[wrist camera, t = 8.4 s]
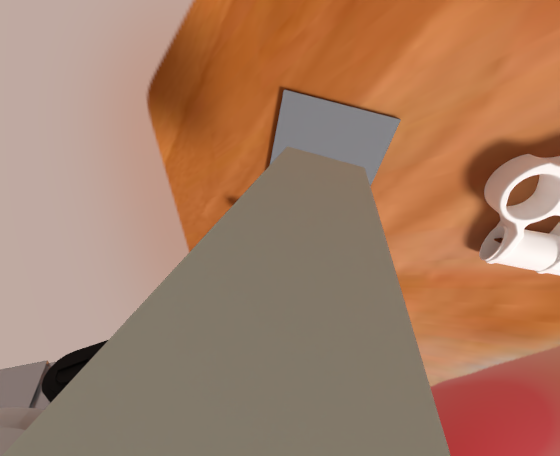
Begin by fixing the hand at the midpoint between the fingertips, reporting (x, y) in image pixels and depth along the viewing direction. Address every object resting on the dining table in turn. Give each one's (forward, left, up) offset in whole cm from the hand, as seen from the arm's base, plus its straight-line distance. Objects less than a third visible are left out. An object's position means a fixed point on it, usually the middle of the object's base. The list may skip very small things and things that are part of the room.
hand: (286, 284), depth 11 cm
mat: (0, 0, -20) cm, 20 cm away
